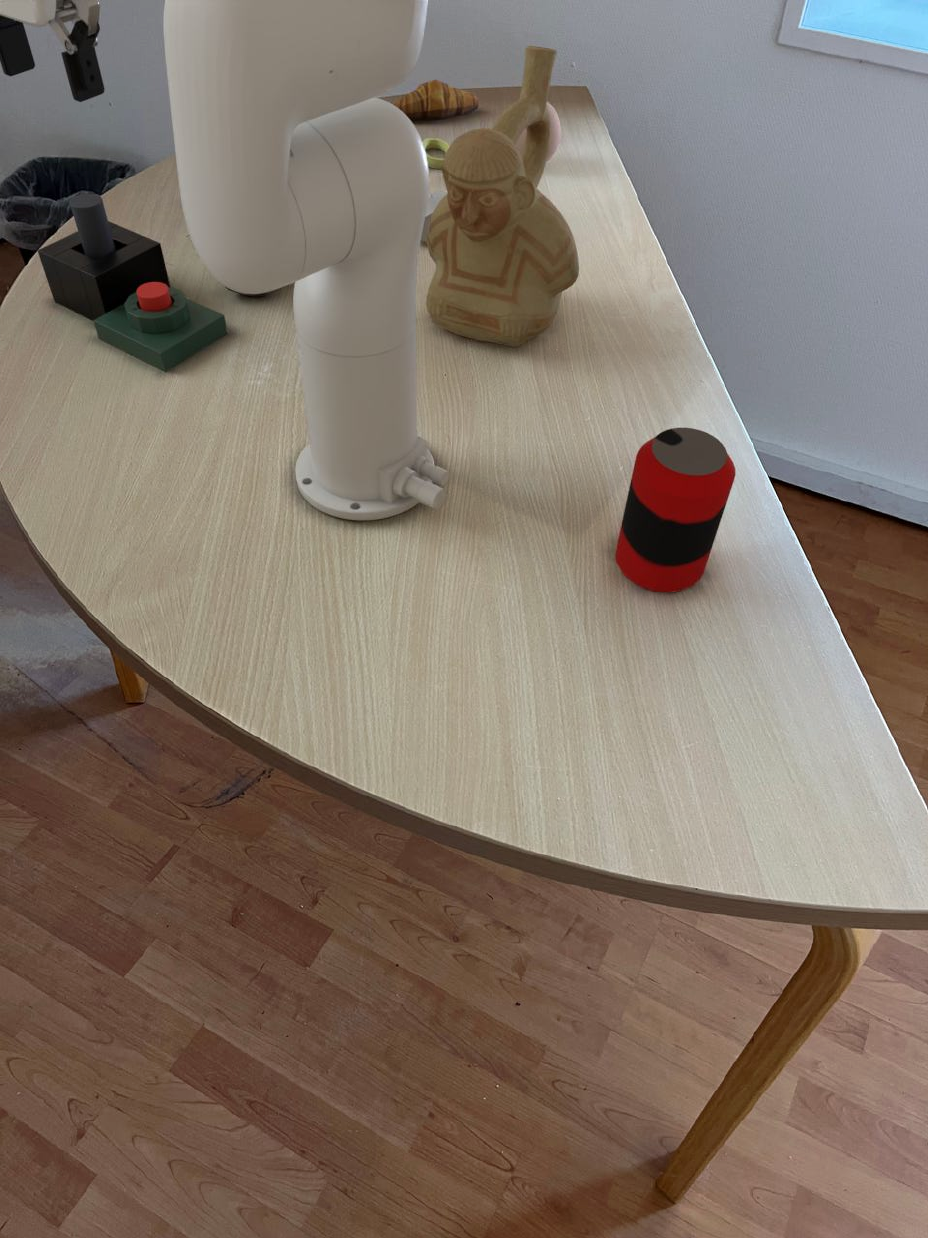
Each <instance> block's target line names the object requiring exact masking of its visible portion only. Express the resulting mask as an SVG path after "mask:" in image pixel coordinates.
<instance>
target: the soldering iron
mask: <svg viewBox="0 0 928 1238" xmlns="http://www.w3.org/2000/svg"><path fill="white" fill-rule="evenodd" d="M69 205H70V209H71V212H72V215H73V219H74V222H75V225H76V229H77V231H78V233H79V236H80V239H81V243H82V246H83V249H84V253H85V255H86V256H88V257H90V258H92V259H95V260H97V261H98V260H100V259H102V258H104V257H106V256H108V255H110V254H112V253H114V252H116V249H115V245H114V242H113V238H112V234H111V230H110V227H109V223H108V221H109V219H108V216H107V212H106V208H105V205H104V200H103V198H102V196H100V195H99V194H96V193H82V194H77V195H75V196H73V197H72V198H71V199H70V201H69Z"/></svg>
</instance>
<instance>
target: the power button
mask: <svg viewBox="0 0 928 1238" xmlns="http://www.w3.org/2000/svg"><path fill="white" fill-rule="evenodd" d="M136 293H137V296H138V300H139V304H140V308H141V309H142V310H143V311H146V312H158V311H163V310H166V309H167V308H169V307H171V305H172V301H171V297H170V293H169V288H168V286H167V285H166V284H164V283H161V282H149V283H145V284H143V285H141V286H139V287H138V288H137V291H136Z"/></svg>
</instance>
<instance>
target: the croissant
mask: <svg viewBox="0 0 928 1238" xmlns="http://www.w3.org/2000/svg"><path fill="white" fill-rule="evenodd" d="M393 105H394V106H396V107H397V108H399V109H400V110H401V111H402V112H403V113H404V114H405V115H406V116H407V117H408V118H409V119H410V120H411V121H420V120H442V119H446V118H450V117H455V116H462V115H465V114H469V113H472V112H475V111H476V110H478V107H479V99H478V97H477V96H476V95H474V94H473V93H471V92H469V91H466V90H463V89H460V88H457V87H454V86H452V85H449V83H445V82H443V81H440V80H438V79H433V80H430V81H427V82H423V83H420V84H419V85H418V86H417V88H415V90H411V91H410V92H409V93H407V94H406V95H404V96H402V97H401V98H400V99H398V100H397V102H395V103H394V104H393Z"/></svg>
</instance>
